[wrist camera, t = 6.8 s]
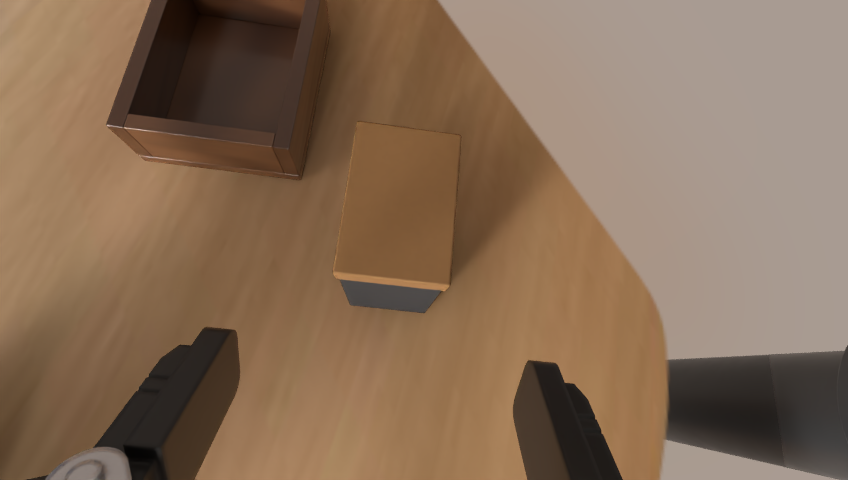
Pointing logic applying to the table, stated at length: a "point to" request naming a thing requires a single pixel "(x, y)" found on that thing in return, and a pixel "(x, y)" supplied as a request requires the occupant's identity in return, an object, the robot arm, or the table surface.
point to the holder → (224, 84)
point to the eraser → (398, 217)
